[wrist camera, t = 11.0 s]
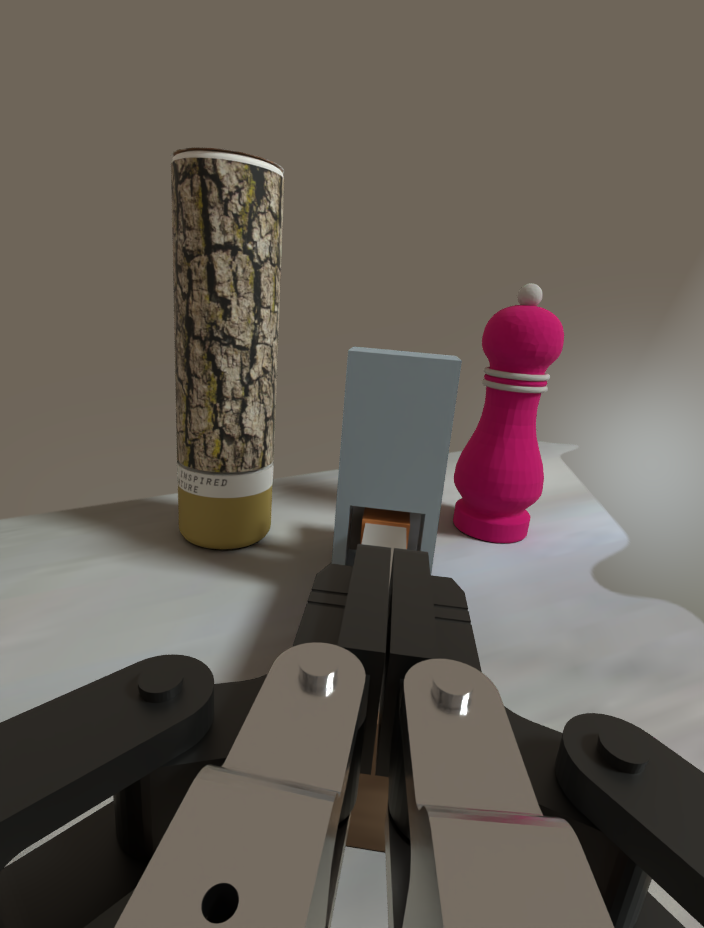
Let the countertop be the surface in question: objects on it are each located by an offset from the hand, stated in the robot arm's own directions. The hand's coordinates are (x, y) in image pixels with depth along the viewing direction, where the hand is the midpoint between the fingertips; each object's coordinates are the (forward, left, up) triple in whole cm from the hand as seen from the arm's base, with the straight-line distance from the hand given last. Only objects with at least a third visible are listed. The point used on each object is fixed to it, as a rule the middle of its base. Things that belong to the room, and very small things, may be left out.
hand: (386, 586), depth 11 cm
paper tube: (-12, +25, -12) cm, 30 cm away
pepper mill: (+9, +32, -12) cm, 35 cm away
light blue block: (0, +19, -12) cm, 23 cm away
